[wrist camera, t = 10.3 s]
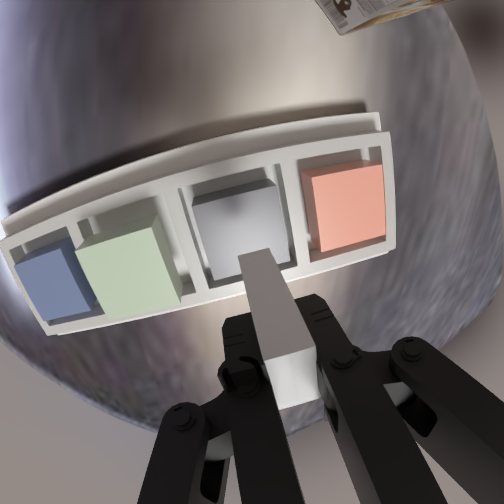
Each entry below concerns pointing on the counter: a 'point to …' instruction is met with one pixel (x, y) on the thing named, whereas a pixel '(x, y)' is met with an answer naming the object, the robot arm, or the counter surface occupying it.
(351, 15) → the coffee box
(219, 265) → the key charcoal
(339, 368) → the robot arm
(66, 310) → the key slate blue
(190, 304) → the keypad board
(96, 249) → the key sage
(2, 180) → the counter surface
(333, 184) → the key coral
